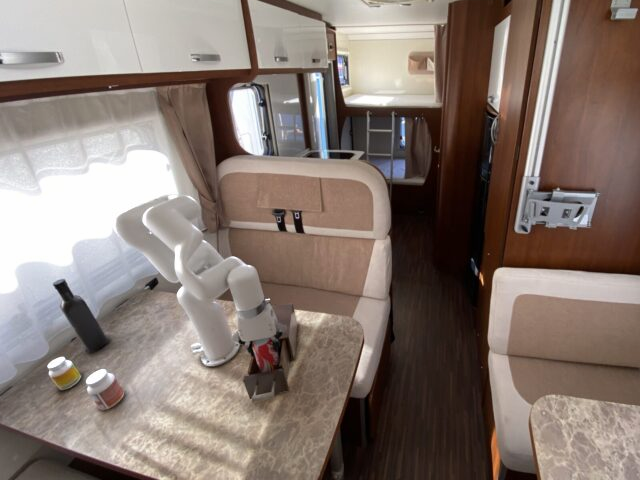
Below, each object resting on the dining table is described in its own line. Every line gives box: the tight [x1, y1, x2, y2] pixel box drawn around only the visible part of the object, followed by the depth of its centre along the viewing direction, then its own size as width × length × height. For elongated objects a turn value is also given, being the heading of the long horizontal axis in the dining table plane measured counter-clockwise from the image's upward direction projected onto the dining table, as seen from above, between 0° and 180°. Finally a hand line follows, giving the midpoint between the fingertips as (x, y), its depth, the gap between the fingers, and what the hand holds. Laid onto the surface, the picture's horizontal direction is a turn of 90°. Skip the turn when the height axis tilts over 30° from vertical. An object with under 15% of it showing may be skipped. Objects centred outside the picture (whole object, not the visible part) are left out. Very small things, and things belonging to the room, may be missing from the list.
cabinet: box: [271, 302, 299, 361], centre depth 107 cm, size 16×13×11 cm
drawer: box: [242, 339, 291, 403], centre depth 94 cm, size 19×11×9 cm, turn 11°
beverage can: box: [252, 337, 280, 373], centre depth 93 cm, size 6×6×12 cm
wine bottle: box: [52, 278, 109, 353], centre depth 107 cm, size 6×6×30 cm
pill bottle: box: [85, 368, 125, 411], centre depth 91 cm, size 6×6×11 cm
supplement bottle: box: [47, 356, 82, 391], centre depth 98 cm, size 5×5×10 cm
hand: (265, 350), depth 93 cm, fingers closed on beverage can, 6 cm apart
